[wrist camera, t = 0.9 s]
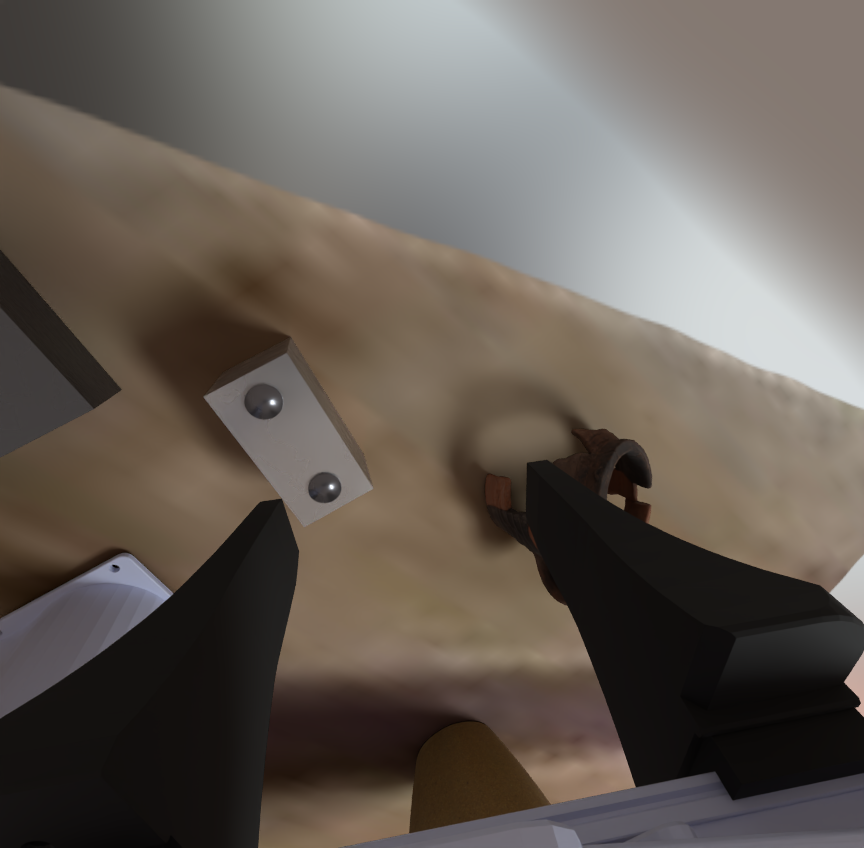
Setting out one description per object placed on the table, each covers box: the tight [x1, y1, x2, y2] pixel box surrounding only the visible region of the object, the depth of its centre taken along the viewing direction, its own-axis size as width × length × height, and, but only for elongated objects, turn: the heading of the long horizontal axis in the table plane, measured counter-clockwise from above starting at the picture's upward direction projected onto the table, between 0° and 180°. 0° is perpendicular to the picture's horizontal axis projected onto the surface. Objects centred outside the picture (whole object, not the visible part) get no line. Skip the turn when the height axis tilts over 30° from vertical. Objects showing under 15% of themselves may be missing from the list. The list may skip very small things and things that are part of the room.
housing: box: [204, 337, 373, 527], centre depth 22 cm, size 8×4×5 cm, turn 25°
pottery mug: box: [485, 429, 652, 605], centre depth 28 cm, size 12×10×8 cm
